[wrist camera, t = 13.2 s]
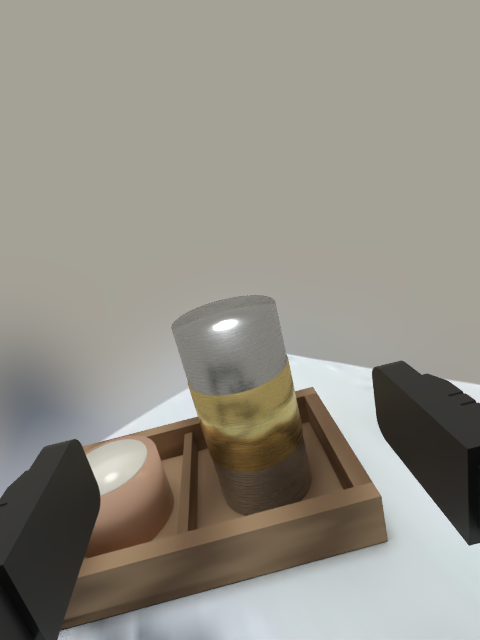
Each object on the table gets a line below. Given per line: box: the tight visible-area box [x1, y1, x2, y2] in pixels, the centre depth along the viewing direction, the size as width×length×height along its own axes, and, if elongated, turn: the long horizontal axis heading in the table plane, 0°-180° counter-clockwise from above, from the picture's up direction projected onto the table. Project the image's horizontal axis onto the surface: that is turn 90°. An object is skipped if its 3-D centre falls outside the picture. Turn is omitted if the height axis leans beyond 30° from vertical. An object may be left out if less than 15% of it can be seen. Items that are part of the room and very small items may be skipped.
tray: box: [60, 387, 388, 630], centre depth 24 cm, size 20×12×3 cm, turn 96°
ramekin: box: [85, 435, 174, 558], centre depth 24 cm, size 6×6×4 cm
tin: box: [172, 295, 312, 516], centre depth 23 cm, size 6×6×12 cm
